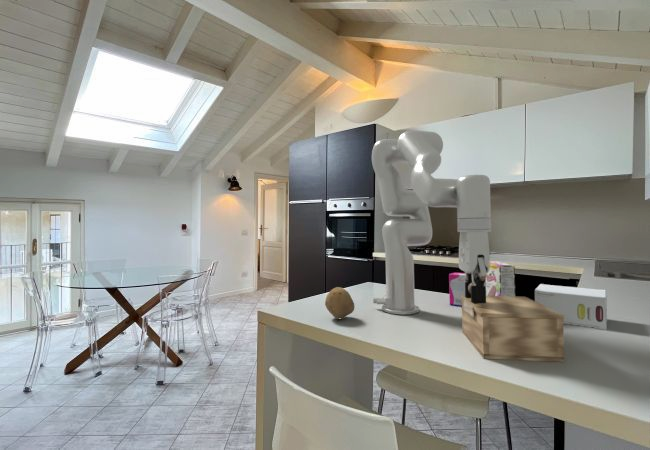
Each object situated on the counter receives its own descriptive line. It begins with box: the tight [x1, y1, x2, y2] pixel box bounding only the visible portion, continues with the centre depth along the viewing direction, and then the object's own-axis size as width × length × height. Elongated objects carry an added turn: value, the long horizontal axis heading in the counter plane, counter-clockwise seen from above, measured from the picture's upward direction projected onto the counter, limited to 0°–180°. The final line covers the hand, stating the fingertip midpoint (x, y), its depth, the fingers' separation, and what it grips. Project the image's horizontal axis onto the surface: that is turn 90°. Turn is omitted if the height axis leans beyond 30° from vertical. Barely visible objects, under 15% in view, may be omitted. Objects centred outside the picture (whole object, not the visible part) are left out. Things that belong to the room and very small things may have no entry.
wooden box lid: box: [460, 283, 564, 319], centre depth 79 cm, size 17×18×8 cm
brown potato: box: [324, 286, 355, 319], centre depth 105 cm, size 9×9×10 cm
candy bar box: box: [486, 260, 516, 296], centre depth 109 cm, size 11×5×16 cm, turn 179°
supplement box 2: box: [534, 283, 608, 330], centre depth 100 cm, size 17×13×9 cm
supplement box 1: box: [448, 272, 465, 308], centre depth 120 cm, size 6×6×12 cm
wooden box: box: [461, 301, 565, 363], centre depth 79 cm, size 16×18×9 cm
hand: (475, 299), depth 80 cm, fingers open, 4 cm apart
